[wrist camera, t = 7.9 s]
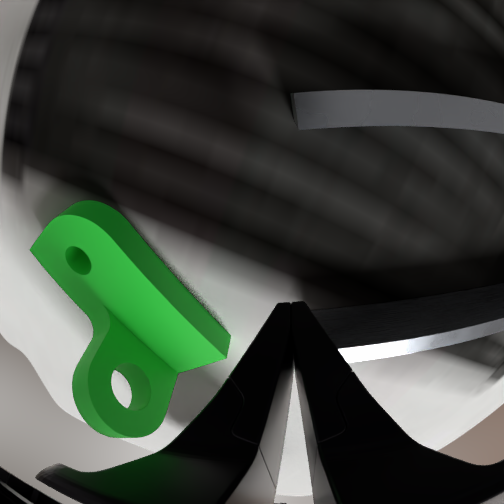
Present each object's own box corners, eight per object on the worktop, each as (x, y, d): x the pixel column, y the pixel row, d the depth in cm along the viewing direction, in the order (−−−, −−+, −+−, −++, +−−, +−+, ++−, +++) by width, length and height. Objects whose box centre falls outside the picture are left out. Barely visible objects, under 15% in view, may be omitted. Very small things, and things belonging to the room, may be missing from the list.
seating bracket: (512, 293, 14) (532, 320, 12) (311, 325, 17) (314, 366, 14) (545, 114, 8) (580, 127, 6) (290, 93, 11) (294, 93, 8)
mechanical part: (231, 333, 18) (208, 452, 11) (166, 357, 20) (133, 453, 13) (96, 177, 13) (-16, 261, 6) (47, 233, 15) (-33, 313, 9)
